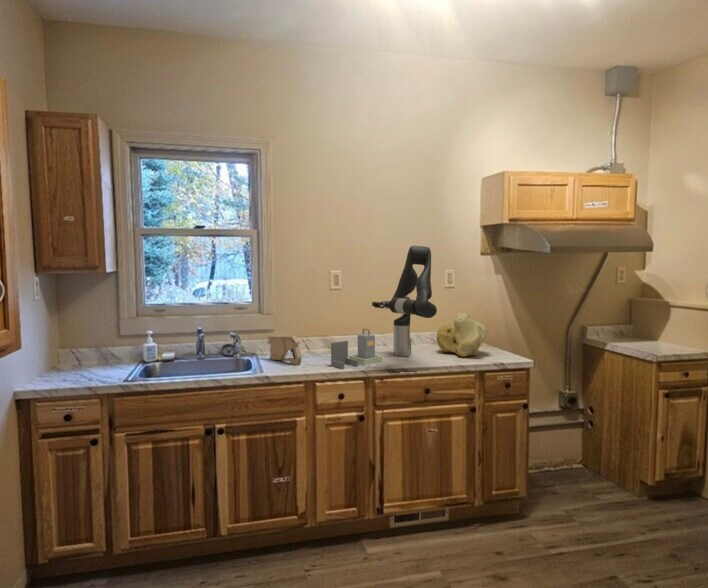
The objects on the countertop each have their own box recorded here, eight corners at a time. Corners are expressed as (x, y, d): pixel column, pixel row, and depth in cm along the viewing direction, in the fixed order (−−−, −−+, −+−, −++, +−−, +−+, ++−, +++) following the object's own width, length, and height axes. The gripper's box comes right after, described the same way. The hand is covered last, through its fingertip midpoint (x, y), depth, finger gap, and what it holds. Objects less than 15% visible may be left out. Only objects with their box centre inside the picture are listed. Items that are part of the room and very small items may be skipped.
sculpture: (459, 329, 264) (434, 305, 290) (452, 371, 275) (429, 344, 301) (500, 324, 272) (472, 301, 298) (492, 365, 282) (465, 340, 308)
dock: (346, 363, 265) (346, 340, 264) (358, 366, 258) (357, 343, 257) (331, 365, 259) (330, 342, 258) (342, 369, 251) (342, 345, 250)
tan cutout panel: (302, 364, 262) (300, 335, 262) (298, 365, 260) (295, 336, 260) (273, 362, 279) (271, 335, 279) (269, 363, 277) (267, 336, 276)
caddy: (366, 359, 272) (366, 327, 271) (375, 361, 267) (374, 329, 265) (357, 360, 269) (357, 329, 267) (366, 363, 263) (366, 330, 262)
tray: (366, 358, 278) (366, 352, 277) (381, 362, 267) (381, 356, 267) (348, 361, 270) (348, 355, 270) (364, 365, 260) (364, 359, 260)
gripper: (411, 297, 249) (389, 295, 262) (390, 299, 240) (368, 296, 253) (411, 312, 250) (389, 309, 262) (390, 314, 241) (368, 311, 253)
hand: (378, 303), depth 258 cm, fingers open, 8 cm apart
